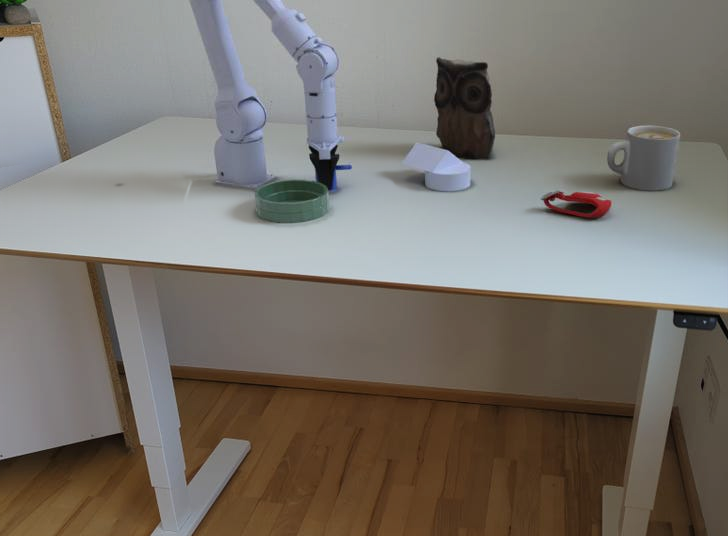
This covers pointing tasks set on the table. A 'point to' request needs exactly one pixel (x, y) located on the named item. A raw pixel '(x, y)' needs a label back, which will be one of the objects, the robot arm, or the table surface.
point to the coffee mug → (647, 157)
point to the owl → (464, 108)
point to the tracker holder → (582, 198)
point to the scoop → (338, 167)
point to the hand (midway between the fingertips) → (326, 185)
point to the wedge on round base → (439, 168)
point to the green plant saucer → (291, 201)
